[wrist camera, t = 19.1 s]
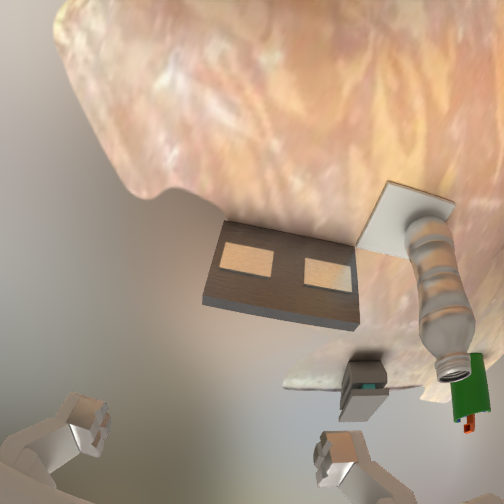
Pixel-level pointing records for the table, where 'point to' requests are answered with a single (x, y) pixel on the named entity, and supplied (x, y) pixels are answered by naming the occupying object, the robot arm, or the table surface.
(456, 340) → the plastic bottle
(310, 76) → the table surface
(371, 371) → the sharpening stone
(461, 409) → the motor
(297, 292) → the panel
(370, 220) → the rubber pad
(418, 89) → the table surface
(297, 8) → the table surface
